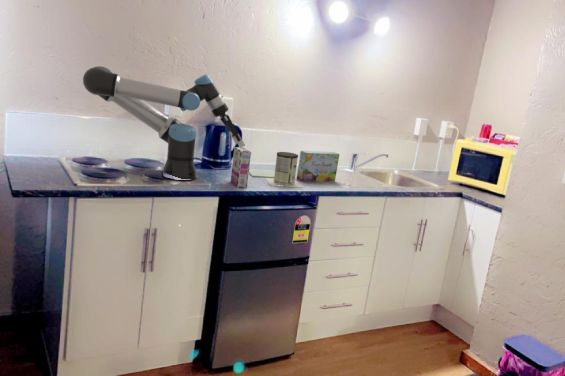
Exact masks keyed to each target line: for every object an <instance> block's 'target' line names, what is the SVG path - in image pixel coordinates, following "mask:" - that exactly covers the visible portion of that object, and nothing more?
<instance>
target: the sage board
mask: <svg viewBox="0 0 565 376" xmlns="http://www.w3.org/2000/svg"><path fill="white" fill-rule="evenodd" d="M248 175H250V176H251V177H252V178H263V179H265V178H274V176H275V170H271V169H257V168H256V169H255V168H253V169H252V168H249V173H248Z"/></svg>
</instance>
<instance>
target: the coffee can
mask: <svg viewBox="0 0 565 376" xmlns="http://www.w3.org/2000/svg"><path fill="white" fill-rule="evenodd" d="M275 158H276V159H275V166H274V167H275V168H274V171H275V176H274V182H275V183H278V184H283V185H293V184H295V180H296V176H297V166H298V158H299V154H297V153H294V152H287V151H278V152H276V157H275Z"/></svg>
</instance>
